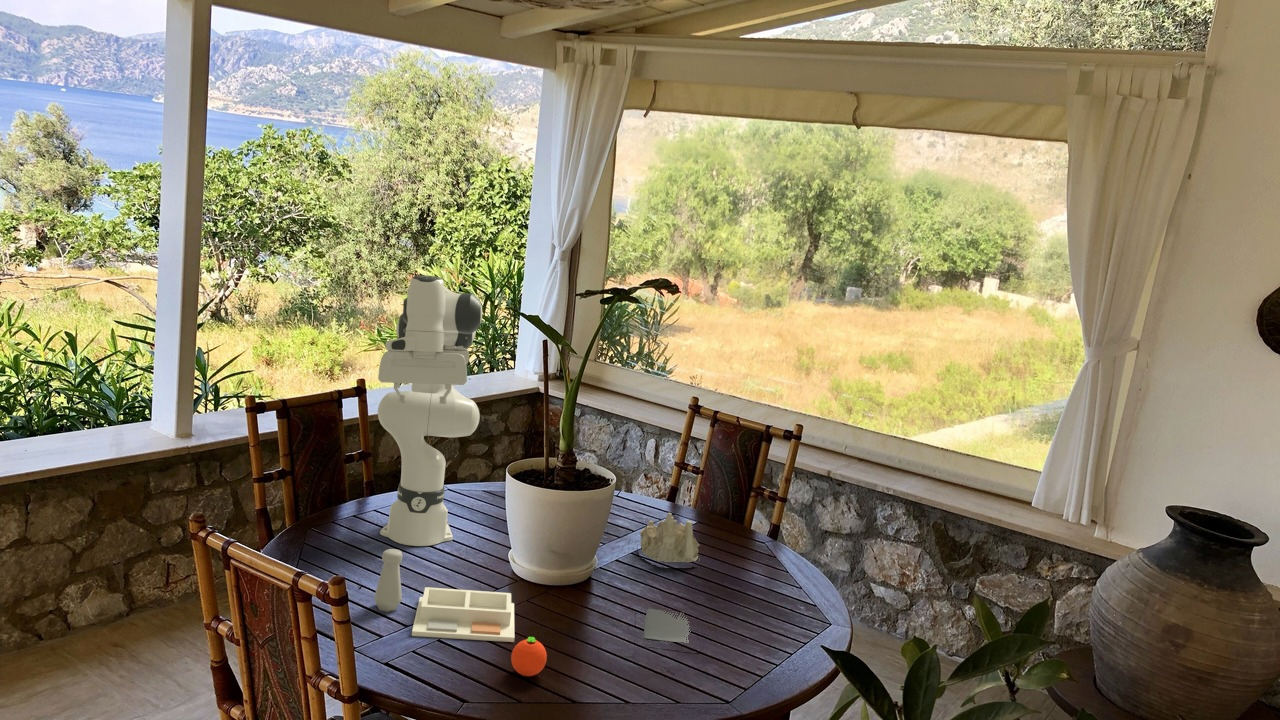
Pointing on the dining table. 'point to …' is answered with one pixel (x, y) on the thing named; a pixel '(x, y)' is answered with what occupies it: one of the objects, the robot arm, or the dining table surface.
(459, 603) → the divided organizer tray
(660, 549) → the sand castle
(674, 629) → the wallet
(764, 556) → the dining table surface
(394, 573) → the salt shaker
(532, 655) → the clementine
